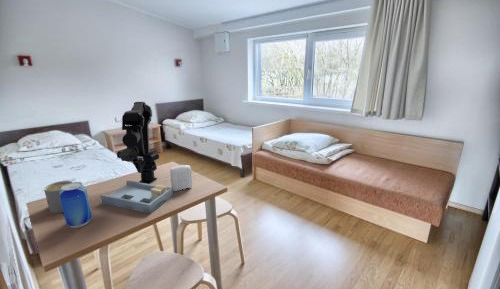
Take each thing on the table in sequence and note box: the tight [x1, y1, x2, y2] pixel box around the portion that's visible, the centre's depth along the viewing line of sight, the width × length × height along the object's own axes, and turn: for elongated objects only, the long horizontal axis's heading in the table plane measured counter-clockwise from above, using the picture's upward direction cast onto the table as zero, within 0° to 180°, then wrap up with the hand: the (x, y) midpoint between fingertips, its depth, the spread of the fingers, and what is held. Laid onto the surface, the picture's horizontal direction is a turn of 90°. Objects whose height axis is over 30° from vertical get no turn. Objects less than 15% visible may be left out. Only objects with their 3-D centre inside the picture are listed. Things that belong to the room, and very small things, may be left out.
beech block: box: [151, 184, 168, 198], centre depth 115 cm, size 5×5×4 cm
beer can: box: [59, 181, 93, 229], centre depth 97 cm, size 8×8×16 cm
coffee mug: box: [43, 180, 73, 214], centre depth 108 cm, size 13×10×10 cm
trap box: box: [100, 180, 174, 214], centre depth 116 cm, size 16×26×4 cm, turn 72°
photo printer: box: [169, 164, 193, 192], centre depth 125 cm, size 10×4×12 cm, turn 116°
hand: (140, 172), depth 116 cm, fingers closed
